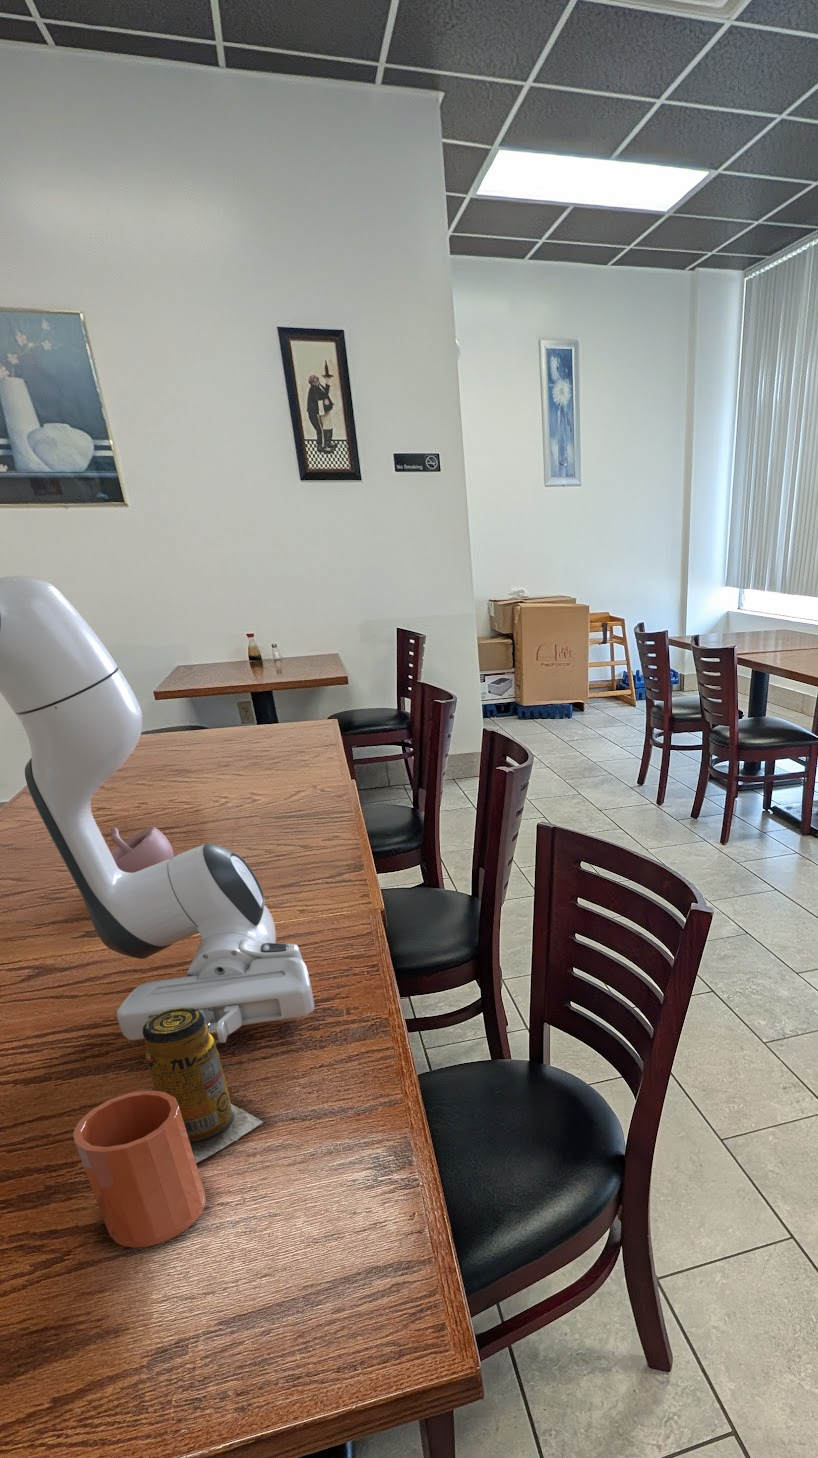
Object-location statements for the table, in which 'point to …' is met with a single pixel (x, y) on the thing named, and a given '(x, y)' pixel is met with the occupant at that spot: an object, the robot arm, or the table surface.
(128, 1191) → the terracotta cup
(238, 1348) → the table surface
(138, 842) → the mortar and pestle
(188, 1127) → the condiment
